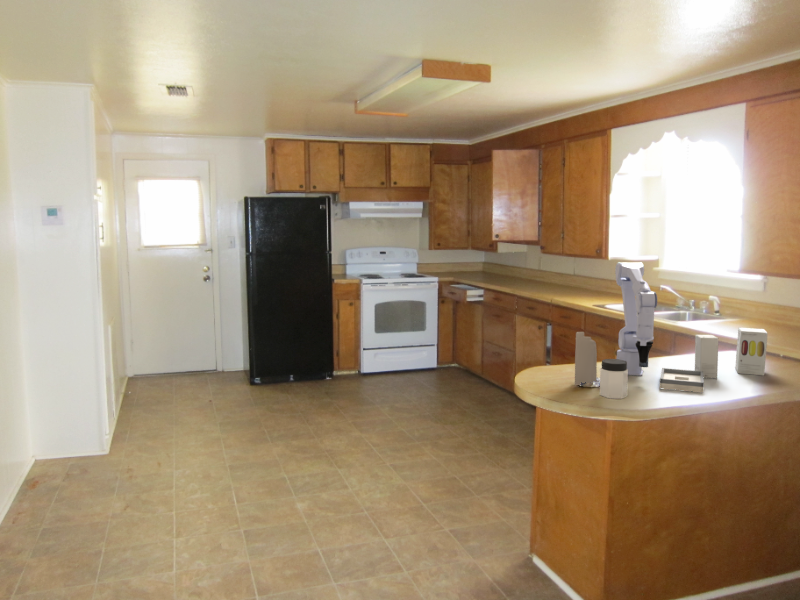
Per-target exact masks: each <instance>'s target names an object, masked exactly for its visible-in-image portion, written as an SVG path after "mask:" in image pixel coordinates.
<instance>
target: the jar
mask: <svg viewBox="0 0 800 600" xmlns="http://www.w3.org/2000/svg"><path fill="white" fill-rule="evenodd" d="M599 371H600V374H599V375H600V376H599V382H600V387H599V396H601V397H603V398H606V399H611V400H612V399H613V400H614V399H615V400H617V399H618V400H622V399H624V398H626V397H627V396H628V379H629V378H628V377H629V376H628V369H627V362H626V361H624V360H620V359H617V358H605V359H602V361H601V368H600V369H599Z"/></svg>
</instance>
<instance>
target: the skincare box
mask: <svg viewBox="0 0 800 600" xmlns="http://www.w3.org/2000/svg"><path fill="white" fill-rule="evenodd" d="M694 339H695V341H694V343H695V344H694V345H695V348H694V349H695V350H694V371H703V377H704V378H703V379H713V378H715V379H718V370H719V369H718V366H719V365H718V364H719V362H718V361H719V337H717V336H715V335H713V334H695V338H694Z"/></svg>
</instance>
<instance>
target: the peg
mask: <svg viewBox="0 0 800 600" xmlns="http://www.w3.org/2000/svg"><path fill="white" fill-rule="evenodd" d="M649 354H650V353H649ZM649 354H648V359H647V362H646V363H640V359H639V367H642V368H649V358H650V357H649Z"/></svg>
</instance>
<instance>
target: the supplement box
mask: <svg viewBox="0 0 800 600" xmlns="http://www.w3.org/2000/svg"><path fill="white" fill-rule="evenodd" d="M768 335H769V333H768V332H767V330H765V329H764V328H752V327H750V328H749V327H738V329H737V340H736V341H737V342H736V344H737V345H736V354H735V366H734V368H735V370H736V373H737V374H741V375H742V374H743V375H753V376H754V375H755V376H765V370H766V357H767V348H768V347H767V346H768Z"/></svg>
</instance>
